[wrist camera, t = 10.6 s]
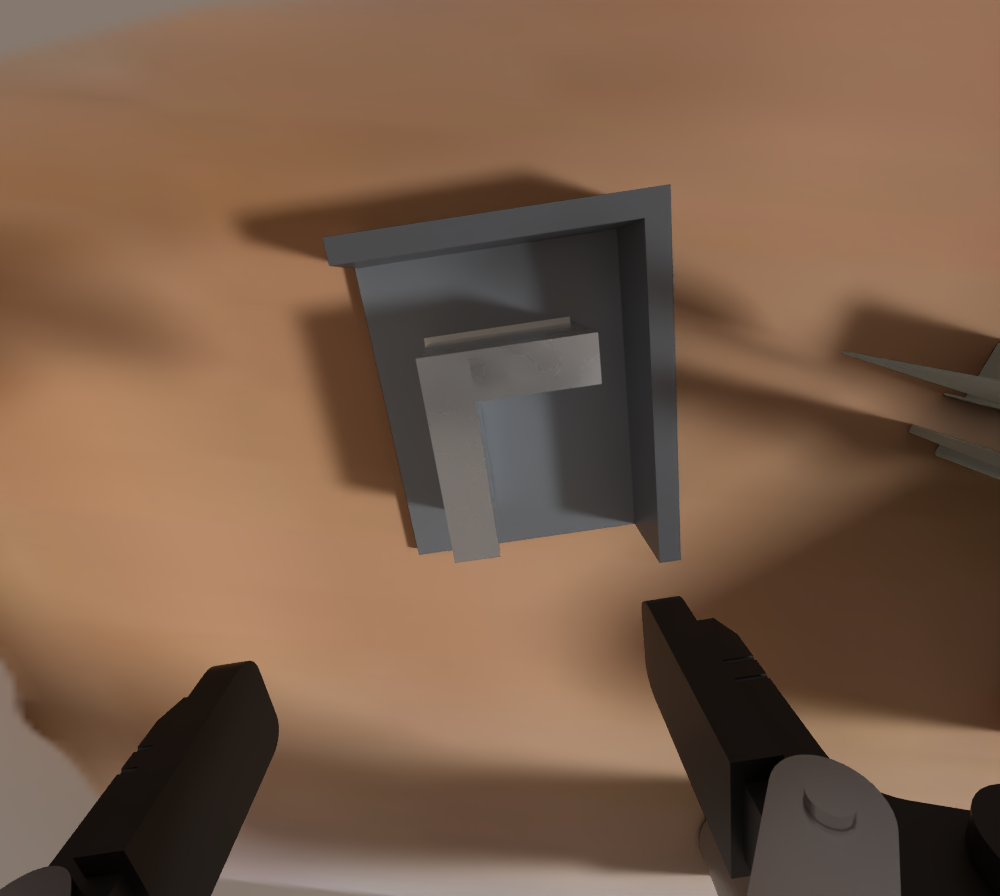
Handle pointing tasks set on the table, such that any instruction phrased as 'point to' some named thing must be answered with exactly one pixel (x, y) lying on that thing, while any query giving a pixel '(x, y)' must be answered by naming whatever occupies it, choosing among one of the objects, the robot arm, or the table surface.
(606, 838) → the table surface
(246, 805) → the robot arm
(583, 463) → the grey l-shaped slot base
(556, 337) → the l bracket
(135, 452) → the table surface
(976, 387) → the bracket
